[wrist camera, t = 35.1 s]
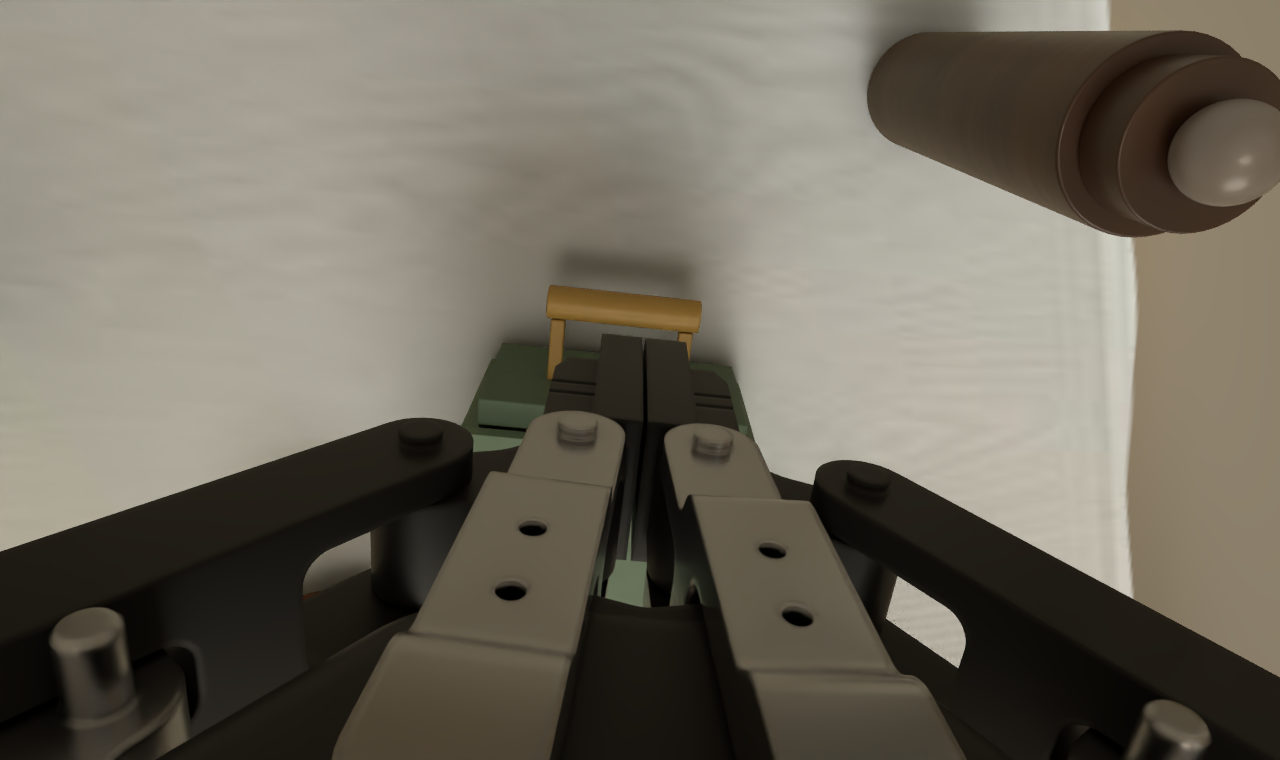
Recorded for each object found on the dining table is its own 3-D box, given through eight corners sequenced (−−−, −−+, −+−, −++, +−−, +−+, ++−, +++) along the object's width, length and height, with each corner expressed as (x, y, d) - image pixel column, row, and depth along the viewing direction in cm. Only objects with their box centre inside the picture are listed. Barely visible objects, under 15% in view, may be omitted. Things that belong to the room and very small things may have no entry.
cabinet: (491, 357, 41) (457, 432, 34) (738, 382, 42) (761, 462, 34) (481, 595, 47) (449, 706, 39) (699, 614, 47) (711, 728, 40)
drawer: (506, 257, 39) (481, 300, 32) (745, 283, 39) (765, 329, 33) (490, 572, 45) (467, 658, 39) (695, 591, 46) (703, 678, 40)
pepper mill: (846, 80, 36) (1101, 138, 16) (942, 7, 35) (1342, -28, 15) (902, 169, 38) (1199, 321, 18) (997, 102, 37) (1426, 183, 17)
